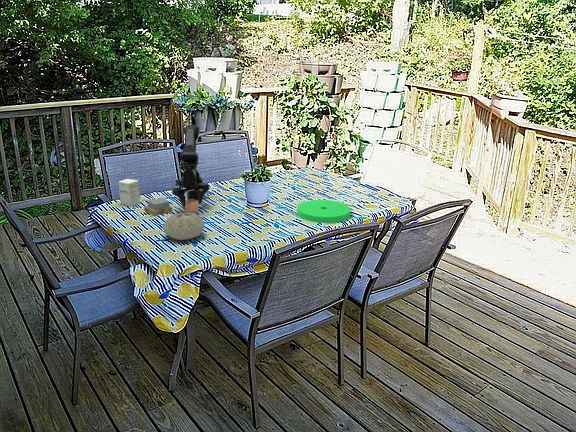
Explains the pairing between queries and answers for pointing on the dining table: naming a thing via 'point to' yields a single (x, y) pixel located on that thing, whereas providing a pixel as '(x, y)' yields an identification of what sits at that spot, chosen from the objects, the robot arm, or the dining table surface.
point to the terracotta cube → (191, 205)
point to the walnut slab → (157, 212)
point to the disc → (323, 211)
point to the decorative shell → (183, 226)
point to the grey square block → (158, 203)
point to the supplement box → (129, 192)
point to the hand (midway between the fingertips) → (191, 205)
